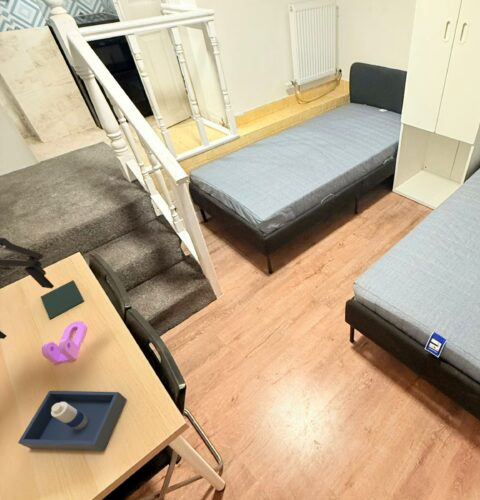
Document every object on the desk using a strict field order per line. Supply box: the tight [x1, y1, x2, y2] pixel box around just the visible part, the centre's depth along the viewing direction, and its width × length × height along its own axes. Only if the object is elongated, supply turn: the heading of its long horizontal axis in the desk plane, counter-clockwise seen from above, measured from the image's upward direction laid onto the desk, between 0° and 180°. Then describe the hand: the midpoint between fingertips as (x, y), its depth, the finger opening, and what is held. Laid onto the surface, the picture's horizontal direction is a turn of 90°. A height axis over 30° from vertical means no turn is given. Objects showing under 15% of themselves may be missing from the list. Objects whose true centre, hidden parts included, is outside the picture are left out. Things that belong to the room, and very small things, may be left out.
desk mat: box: [40, 279, 85, 321], centre depth 108 cm, size 12×10×1 cm
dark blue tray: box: [17, 390, 127, 452], centre depth 79 cm, size 18×12×5 cm, turn 88°
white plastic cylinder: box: [51, 402, 88, 430], centre depth 77 cm, size 3×3×10 cm
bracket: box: [41, 320, 88, 365], centre depth 95 cm, size 13×6×7 cm, turn 13°
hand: (25, 310), depth 75 cm, fingers open, 13 cm apart
